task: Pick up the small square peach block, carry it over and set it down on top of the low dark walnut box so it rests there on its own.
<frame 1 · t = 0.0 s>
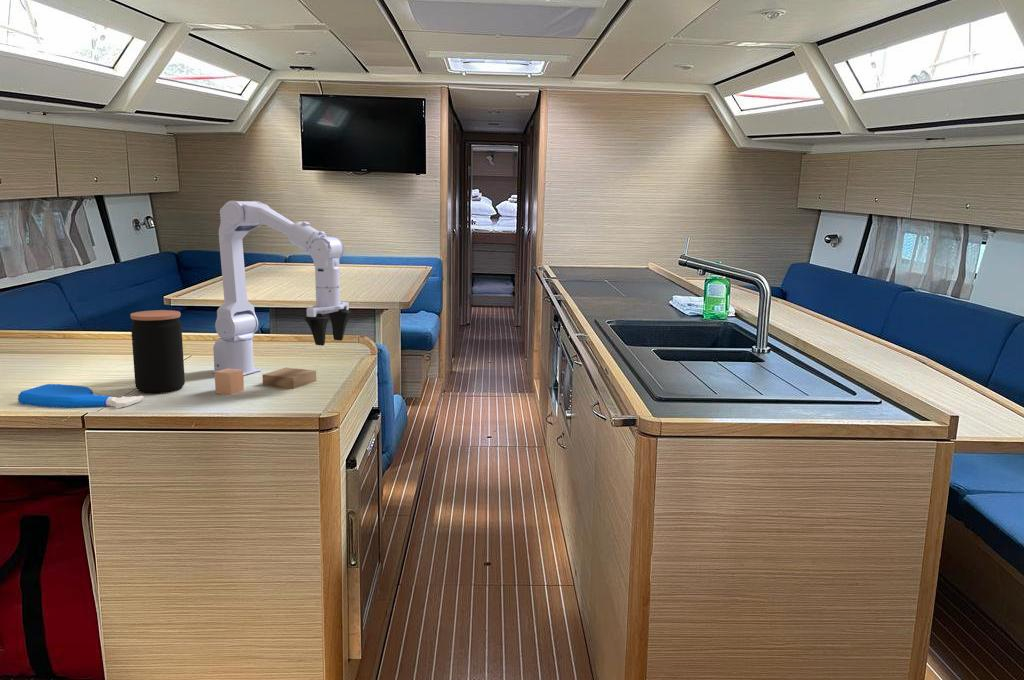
hand: (329, 342, 188), 10 cm above the countertop, fingers open, 7 cm apart
coffee jar: (160, 389, 181), on the countertop
peach block: (229, 391, 180), on the countertop
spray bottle: (82, 405, 168), on the countertop
walnut box: (290, 384, 189), on the countertop
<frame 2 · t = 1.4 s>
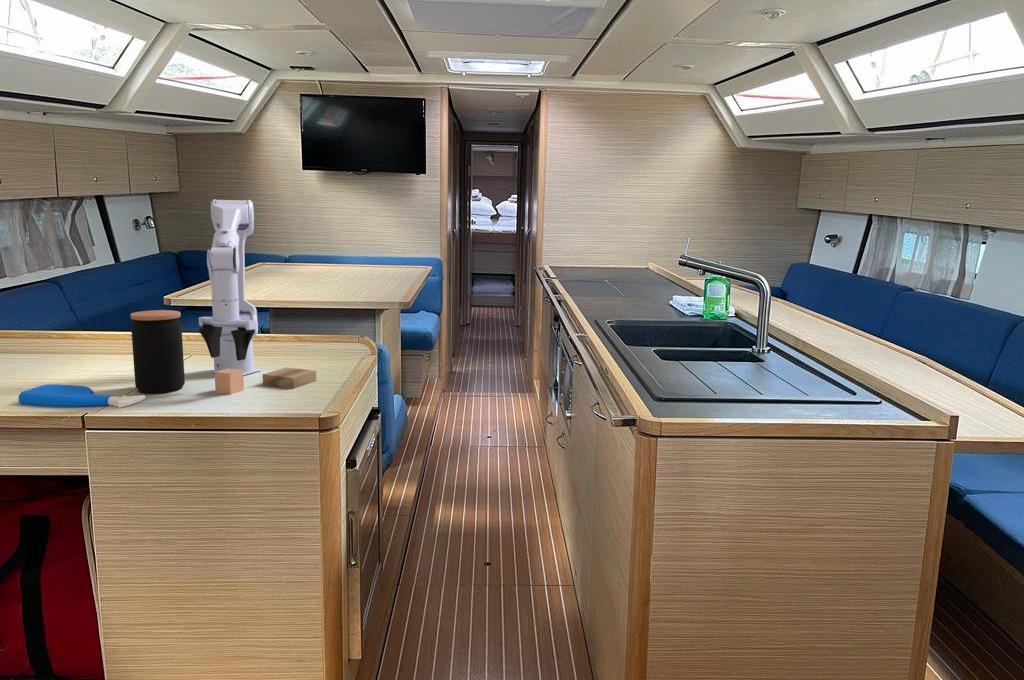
hand: (228, 358, 178), 8 cm above the countertop, fingers open, 7 cm apart
nothing on the countertop moved.
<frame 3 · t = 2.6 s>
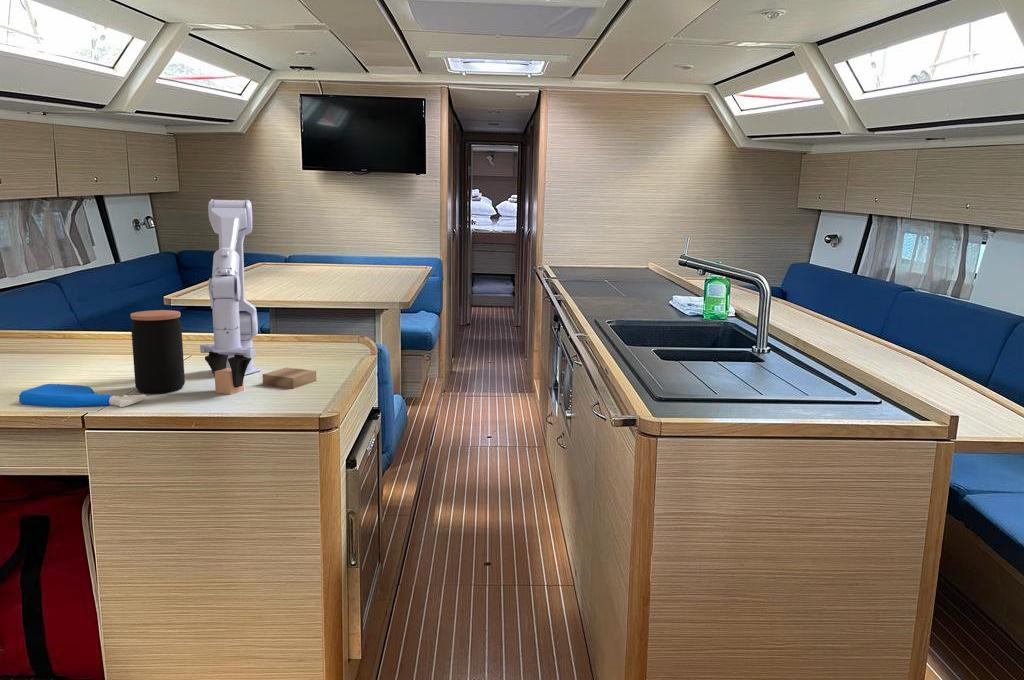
hand: (229, 385, 179), 1 cm above the countertop, fingers closed on peach block, 4 cm apart
peach block: (229, 391, 180), on the countertop, touching gripper
everything else where it was.
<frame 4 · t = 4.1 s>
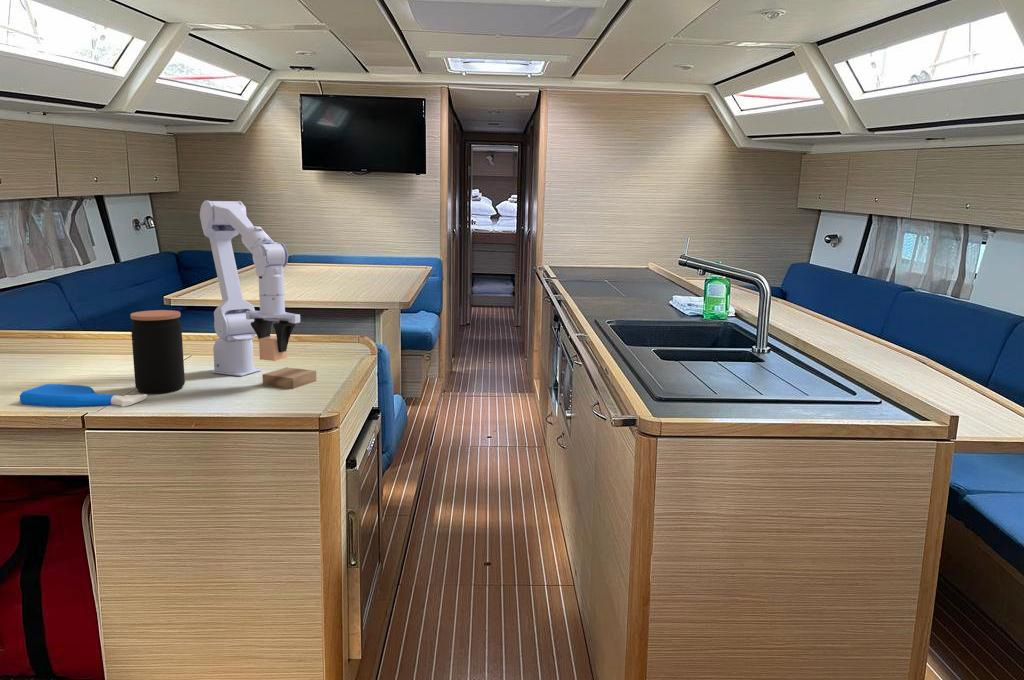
hand: (274, 350, 185), 8 cm above the countertop, fingers closed on peach block, 4 cm apart
peach block: (273, 358, 185), point 7 cm above the countertop, touching gripper
everything else where it was.
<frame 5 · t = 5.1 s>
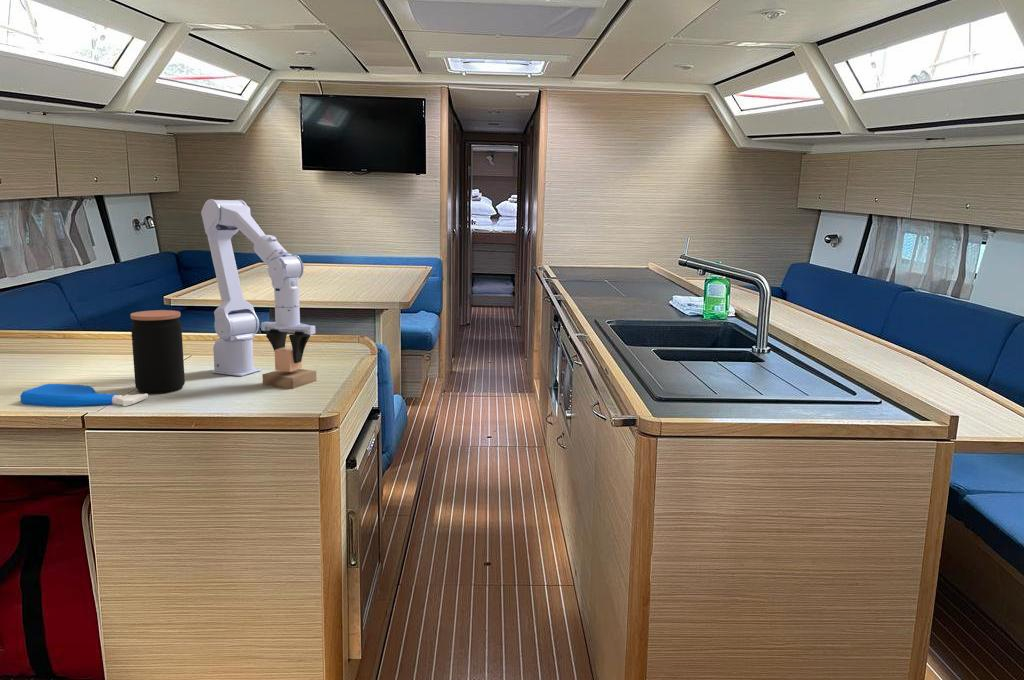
hand: (289, 361, 188), 5 cm above the countertop, fingers closed on peach block, 4 cm apart
peach block: (288, 369, 188), point 4 cm above the countertop, touching gripper
everything else where it was.
when the fingers open (5 cm above the countertop, at t = 5.7 s): peach block stays where it is, resting on walnut box.
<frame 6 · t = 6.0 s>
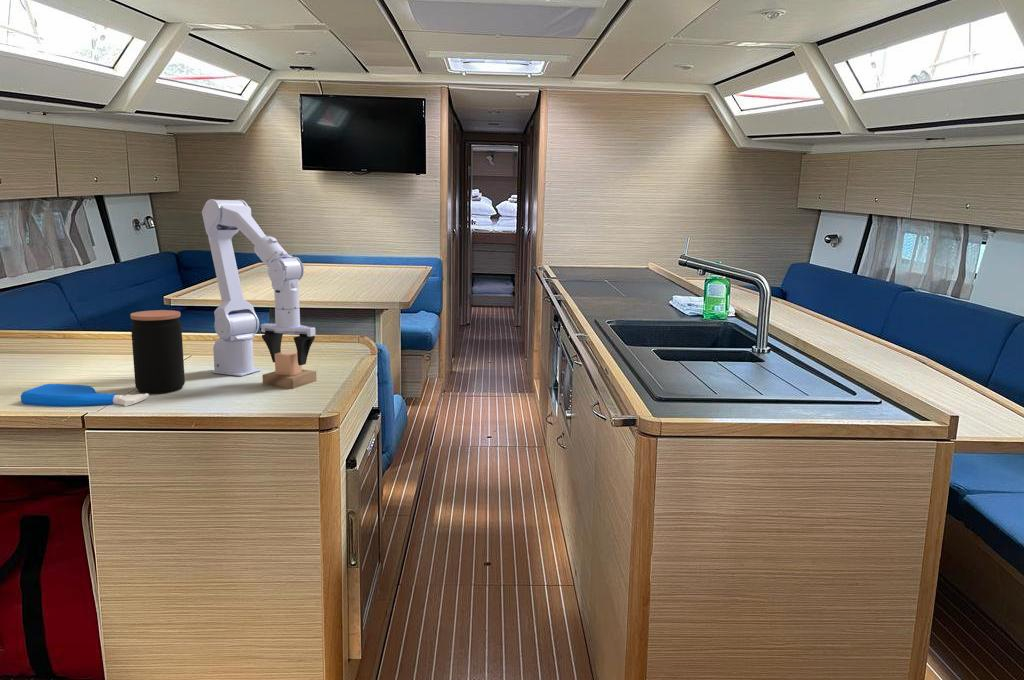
hand: (289, 363, 188), 5 cm above the countertop, fingers open, 7 cm apart
peach block: (288, 373, 188), point 2 cm above the countertop, touching walnut box
walnut box: (290, 384, 189), on the countertop, touching peach block
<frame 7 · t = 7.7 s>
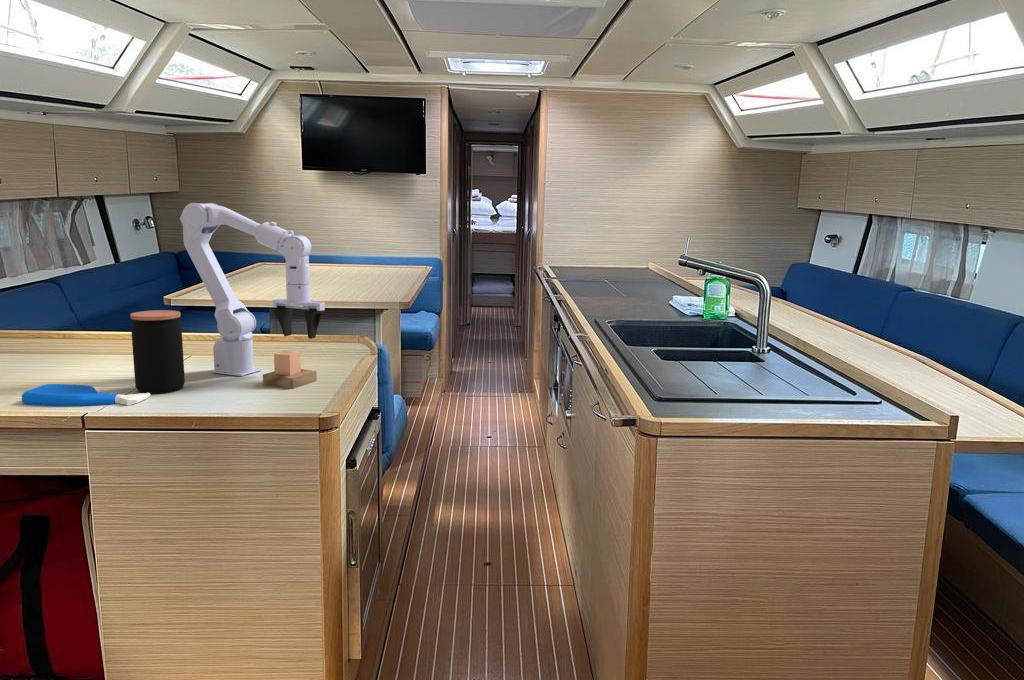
hand: (299, 336, 196), 10 cm above the countertop, fingers open, 7 cm apart
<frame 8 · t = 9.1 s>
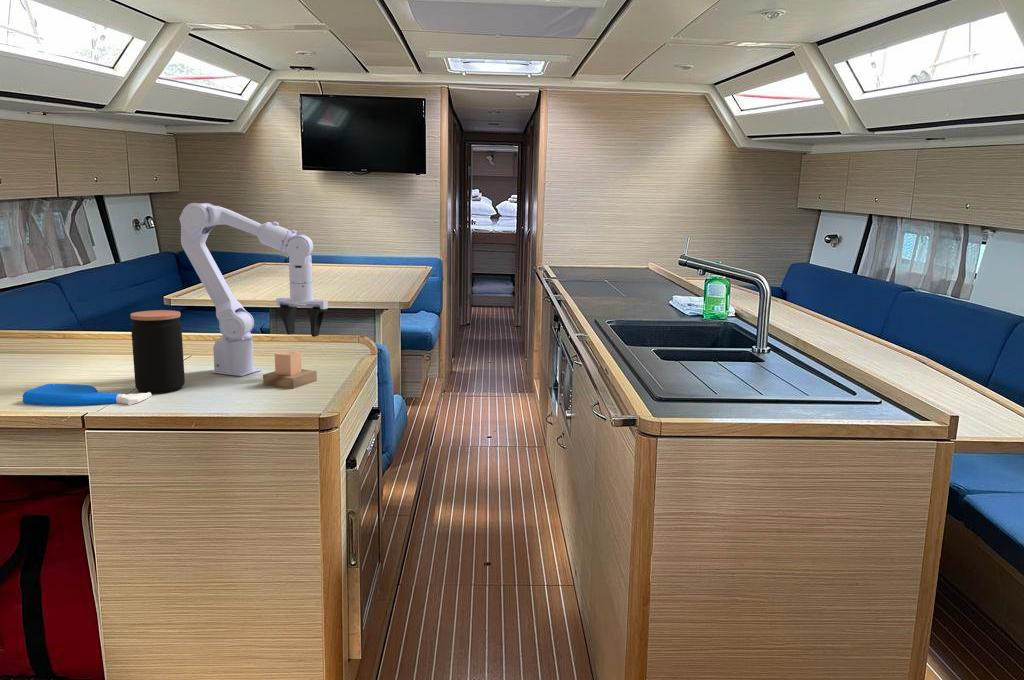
hand: (302, 335, 199), 10 cm above the countertop, fingers open, 7 cm apart
at the end: peach block 0.4 cm off-centre on the walnut box, point 3.0 cm above the walnut box's base; peach block tilted 0°; the gripper is holding nothing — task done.
